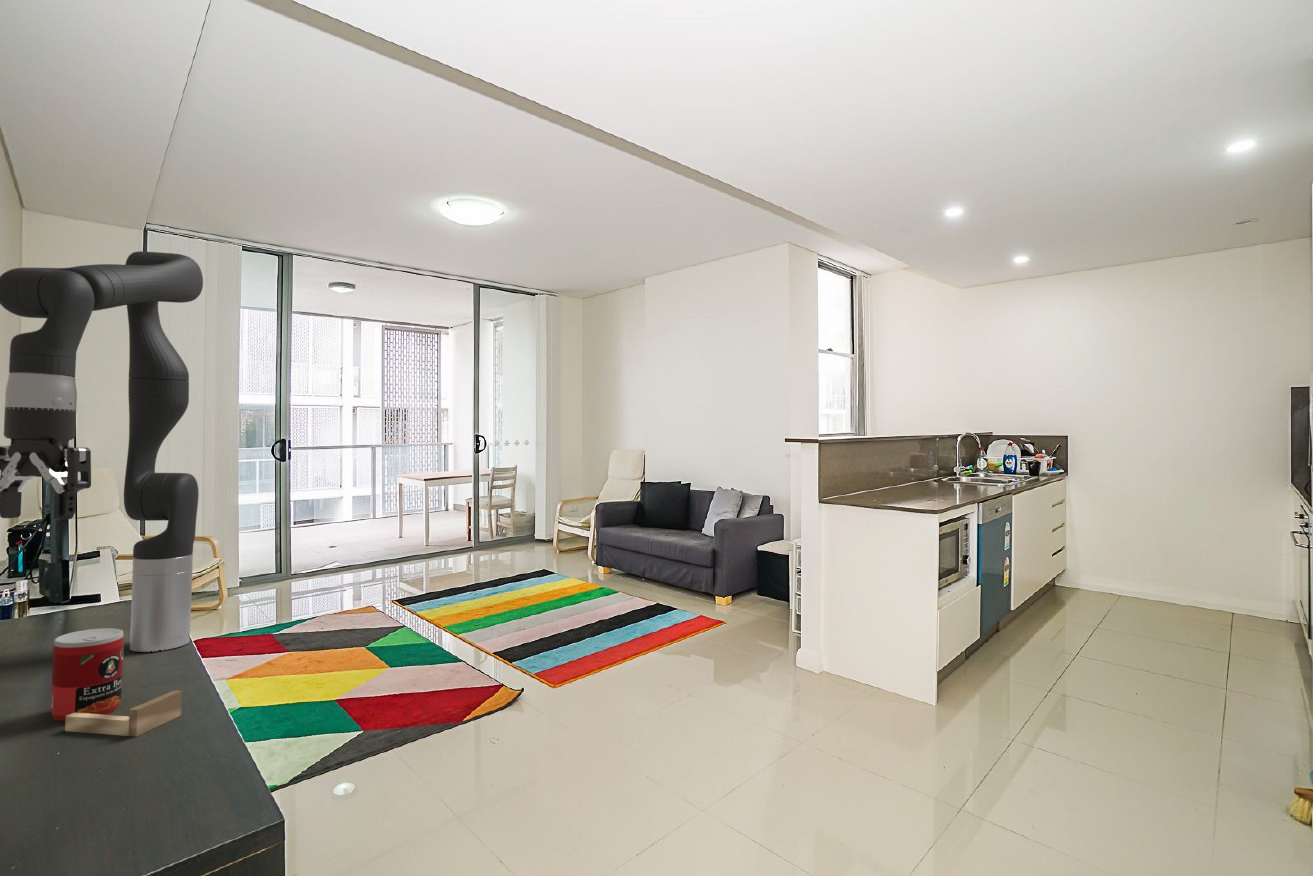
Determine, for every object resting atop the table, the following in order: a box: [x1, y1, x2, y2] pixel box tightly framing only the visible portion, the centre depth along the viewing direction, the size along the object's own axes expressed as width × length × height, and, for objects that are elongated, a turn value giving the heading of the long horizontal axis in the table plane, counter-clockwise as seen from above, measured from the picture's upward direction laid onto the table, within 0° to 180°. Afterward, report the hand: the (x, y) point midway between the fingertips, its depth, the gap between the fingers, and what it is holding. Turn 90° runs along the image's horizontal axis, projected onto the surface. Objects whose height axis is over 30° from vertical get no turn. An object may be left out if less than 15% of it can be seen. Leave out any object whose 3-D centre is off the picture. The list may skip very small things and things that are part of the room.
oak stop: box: [64, 689, 183, 738], centre depth 90 cm, size 11×7×4 cm, turn 83°
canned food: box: [50, 627, 125, 722], centre depth 94 cm, size 8×8×11 cm
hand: (36, 518), depth 94 cm, fingers open, 8 cm apart
